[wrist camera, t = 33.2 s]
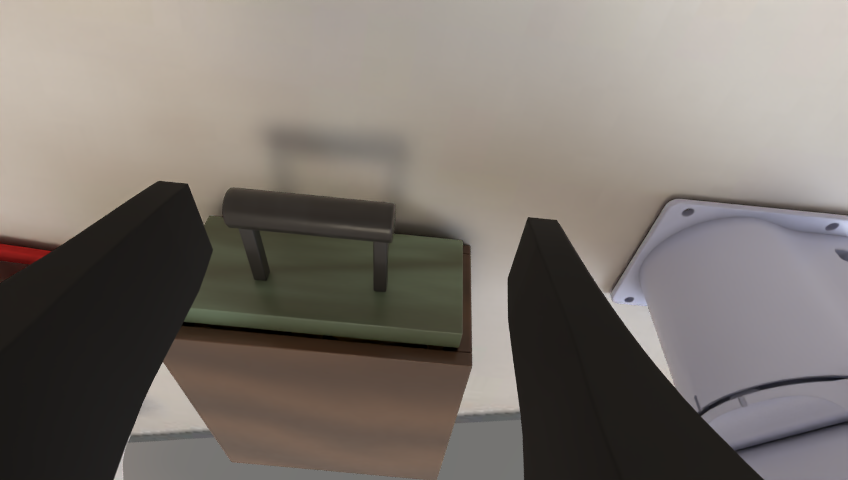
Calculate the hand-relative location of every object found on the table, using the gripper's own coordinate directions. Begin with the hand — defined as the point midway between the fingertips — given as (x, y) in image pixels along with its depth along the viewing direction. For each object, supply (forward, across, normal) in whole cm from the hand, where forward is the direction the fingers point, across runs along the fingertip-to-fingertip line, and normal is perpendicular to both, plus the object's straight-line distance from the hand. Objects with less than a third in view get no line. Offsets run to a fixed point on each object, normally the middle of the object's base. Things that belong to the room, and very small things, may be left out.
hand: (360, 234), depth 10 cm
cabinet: (+10, +3, +19) cm, 22 cm away
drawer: (+10, +3, +15) cm, 18 cm away
